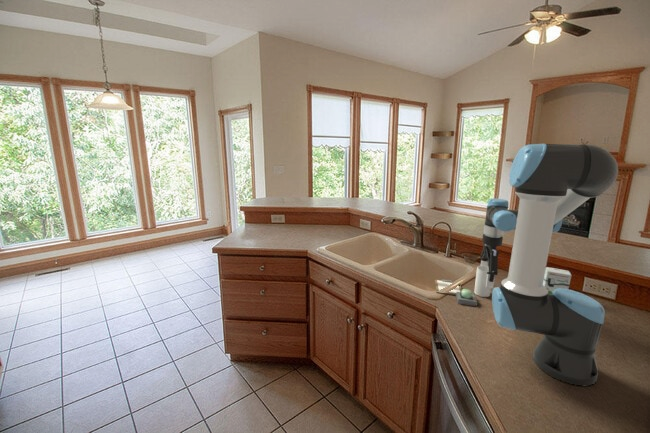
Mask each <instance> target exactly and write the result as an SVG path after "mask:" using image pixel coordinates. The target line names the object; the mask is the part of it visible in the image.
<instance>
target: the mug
mask: <svg viewBox="0 0 650 433" xmlns="http://www.w3.org/2000/svg"><path fill="white" fill-rule="evenodd" d="M475 272H476V273H475V274H476V275H475V282H474V283H475V284H474V290H473V292H474V293H473V294H474V295H477V296H478V297H480V298H481V297H482V298H489V297H490V296H491V293H492V288H486V281H487V275H488V274H487V272H489V265H488V266H481V265H478V266H477V267H476V271H475ZM492 272H494V271H492Z"/></svg>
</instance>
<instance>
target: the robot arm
mask: <svg viewBox="0 0 650 433" xmlns="http://www.w3.org/2000/svg"><path fill="white" fill-rule="evenodd" d="M618 174H619V166H618V163H617V160H616V158H615V157H614V156H613V155H612V154H611V152H609V151H608V149H606V148H602V147H601V146H599V145H593V144H583V143H582V144H565V143H563V144H562V143H561V144H560V143H543V142H542V143H533V144H532V143H531V144H526V145H524V146H522V147H521V148H520V149H519V150H518V151H517V154H516V155H515V156H514V159H513V160H512V164H511V166H510V171H509V182H508V183H509V184H510V186H511V187H513V188H515V190H514V194H515V195H517V197H518V198H519V204H518V209H509V200H506V199H504V198H490V199H489V200H488V201H487V206H486V212H485V220H484V224H483V226H484V227H483V235H482V238H481V242H482V244H483V246H482V251H481V253H480V259H481V260H480V266H488V267H489V272H487V274H488V275H487V281H486V288H491V290H492V291H491V303H492V305H491V306H492V311H493V315H494V319H495V322H496V323H497V325H499V326H500V328H501V327H502V328H505V329H509V330H513V331H520V332H525V333H533V334H538V335H544V336H543V337H542V338H541V340H540V341H539V342H538V343H537V345H536V346H535V347H534V349H533V354H532V360H533V361H534V363H535V365H536V366H537V367H538V368H539V369H540V370H541V371H543V372H544V373H545V374H547V375H549V376H550V377H552V378H554V379H556V380H558V381H560V380H561V381H560V382H563V381H564V382H563V383H565V382H567V383H566V384H568V383H571V384H570V385H572V384H575V385H574V386H576V385H591V384H594V383H595V382H596V383H597V380H598V376H599V370H598V366H597V365H598V364H597V359H596V349H597V346H598V342H599V338H600V334H601V331H602V328H603V327H602V326H603V325H604V323H605V314H606V312H605V311H606V310H605V308H604V306H603V305H602V304H601V302H599V301H598V300H596V299H594V298H593V297H590V296H588V295H586V294H584V293H582V292H579V291H575V290H573V289H569V288H568V289H564V288H559V289H555V290H554V291H553V295H551V294H548V290H547V289H546V288H545V287H544V286H543V280H544V275H545V270H546V267H547V264H548V258H549V252H550V246H551V241H552V235H553V233H558V232H559V231H560V229H561V227H562V225H563V219H564V218H565V217H567V216H568V215H570V214H571V213H572V212H574V211H575V210H576V209H577V208H579V207H581V205H583V204H585V202H586V201H588V200H589V199H590V198H591V199H592V198H596V197H600V196H601V195H603V194H604V193H606V192H607V191H608V190H610V189H611V188H612V186H614V184H615V182H616V180H617V178H618ZM511 231H514V236H513V243H512V250H511V254H510V255H511V256H510V260H509V261H510V262H509V268H508V275H507V277H505V278H504V279H502V280H501V282H500V287H499V286H497V287H496V286H495V287H494V285H495V279H496V276H498V271H499V270H498V266H499V265H498V264H499V251H498V248H497V247H501V246H502V245H503V240H504V237H503V236H504V234H505V233H504V232H511ZM492 271H494V272H492ZM596 383H595V384H596ZM595 384H594V385H595ZM591 386H592V385H591Z"/></svg>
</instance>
